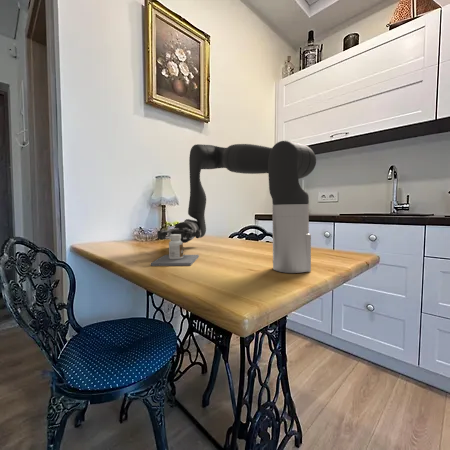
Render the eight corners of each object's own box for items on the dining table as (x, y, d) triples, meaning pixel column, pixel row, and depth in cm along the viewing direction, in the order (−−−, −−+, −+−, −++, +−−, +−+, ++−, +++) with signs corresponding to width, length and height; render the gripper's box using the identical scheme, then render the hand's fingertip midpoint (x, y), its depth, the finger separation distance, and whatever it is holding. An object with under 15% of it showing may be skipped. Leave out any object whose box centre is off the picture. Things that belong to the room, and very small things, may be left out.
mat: (198, 256, 89) (198, 254, 89) (190, 265, 76) (190, 263, 75) (164, 257, 90) (164, 254, 90) (150, 265, 76) (150, 263, 76)
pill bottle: (184, 259, 82) (183, 234, 81) (170, 260, 80) (169, 235, 80) (182, 256, 86) (181, 233, 85) (168, 257, 84) (168, 234, 84)
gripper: (166, 221, 97) (151, 224, 81) (204, 221, 96) (196, 223, 80) (167, 241, 97) (152, 248, 81) (204, 241, 96) (197, 247, 80)
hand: (174, 236), depth 81 cm, fingers open, 8 cm apart
